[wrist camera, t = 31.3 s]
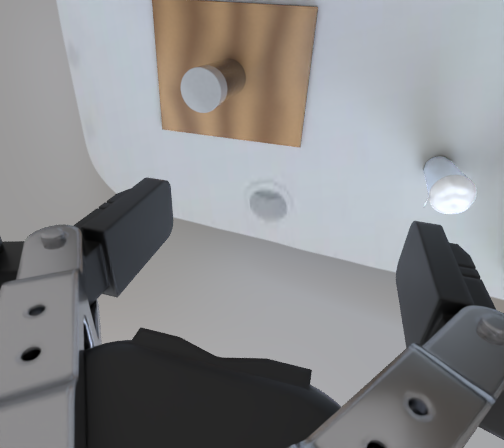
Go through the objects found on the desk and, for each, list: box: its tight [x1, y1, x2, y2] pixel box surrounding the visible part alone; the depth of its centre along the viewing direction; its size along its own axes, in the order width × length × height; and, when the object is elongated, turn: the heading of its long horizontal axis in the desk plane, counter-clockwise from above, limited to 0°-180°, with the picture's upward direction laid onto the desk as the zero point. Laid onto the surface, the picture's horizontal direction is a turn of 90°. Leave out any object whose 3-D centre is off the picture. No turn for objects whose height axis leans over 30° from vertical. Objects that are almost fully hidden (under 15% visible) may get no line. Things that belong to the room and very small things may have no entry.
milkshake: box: [423, 156, 477, 214], centre depth 40 cm, size 5×5×10 cm
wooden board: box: [152, 0, 318, 147], centre depth 45 cm, size 20×16×1 cm
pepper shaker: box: [181, 58, 246, 113], centre depth 40 cm, size 4×4×10 cm
